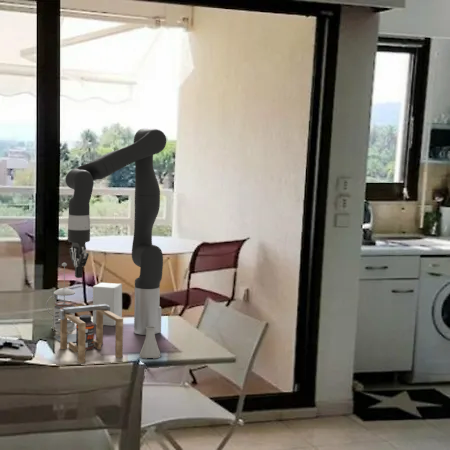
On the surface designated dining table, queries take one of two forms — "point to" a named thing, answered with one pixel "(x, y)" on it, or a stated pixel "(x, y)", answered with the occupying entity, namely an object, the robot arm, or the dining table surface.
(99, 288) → the supplement box
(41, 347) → the dining table surface
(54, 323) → the french press
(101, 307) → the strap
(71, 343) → the holder
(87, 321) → the supplement bottle
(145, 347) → the flask
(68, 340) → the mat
